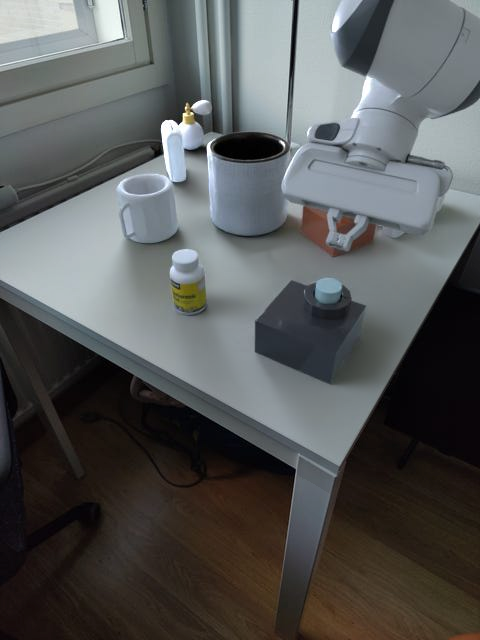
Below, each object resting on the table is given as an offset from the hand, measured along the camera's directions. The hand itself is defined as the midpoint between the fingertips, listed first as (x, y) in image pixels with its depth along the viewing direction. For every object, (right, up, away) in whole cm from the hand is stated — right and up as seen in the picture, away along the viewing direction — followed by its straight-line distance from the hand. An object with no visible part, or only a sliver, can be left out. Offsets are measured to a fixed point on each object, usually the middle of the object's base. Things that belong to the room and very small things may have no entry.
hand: (336, 247), depth 60 cm
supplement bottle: (-21, -7, +16) cm, 27 cm away
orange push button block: (+6, +7, +31) cm, 32 cm away
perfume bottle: (-25, +38, +67) cm, 82 cm away
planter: (-11, +12, +37) cm, 40 cm away
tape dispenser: (+21, +13, +37) cm, 44 cm away
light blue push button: (0, -6, +5) cm, 8 cm away
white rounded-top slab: (-28, +27, +54) cm, 67 cm away
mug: (-31, +8, +33) cm, 46 cm away
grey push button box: (-3, -13, +8) cm, 16 cm away
